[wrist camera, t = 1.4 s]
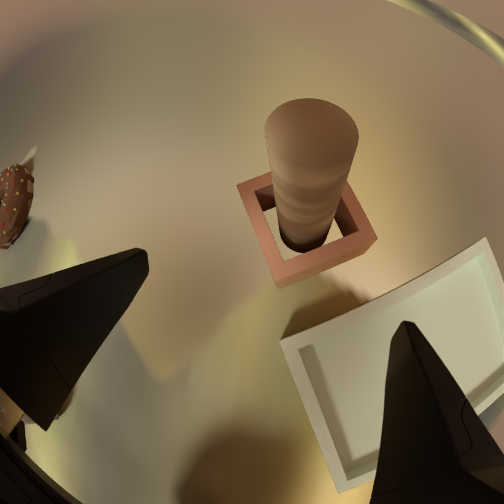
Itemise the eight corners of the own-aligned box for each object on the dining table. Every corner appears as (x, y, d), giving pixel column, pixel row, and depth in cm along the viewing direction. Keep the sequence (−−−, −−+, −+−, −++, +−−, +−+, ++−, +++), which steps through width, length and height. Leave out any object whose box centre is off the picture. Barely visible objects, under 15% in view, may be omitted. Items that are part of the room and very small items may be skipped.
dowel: (290, 260, 22) (288, 181, 10) (272, 217, 23) (251, 113, 11) (335, 242, 22) (376, 151, 10) (315, 200, 23) (329, 90, 11)
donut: (-11, 228, 31) (-30, 219, 26) (26, 162, 33) (8, 148, 28) (7, 277, 27) (-18, 268, 22) (51, 195, 29) (27, 179, 24)
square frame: (277, 289, 22) (274, 281, 18) (245, 207, 24) (236, 185, 20) (363, 253, 21) (377, 238, 17) (324, 177, 24) (329, 151, 20)
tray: (334, 479, 16) (338, 493, 14) (280, 339, 20) (278, 341, 18) (508, 370, 16) (523, 372, 13) (471, 244, 20) (485, 236, 17)
